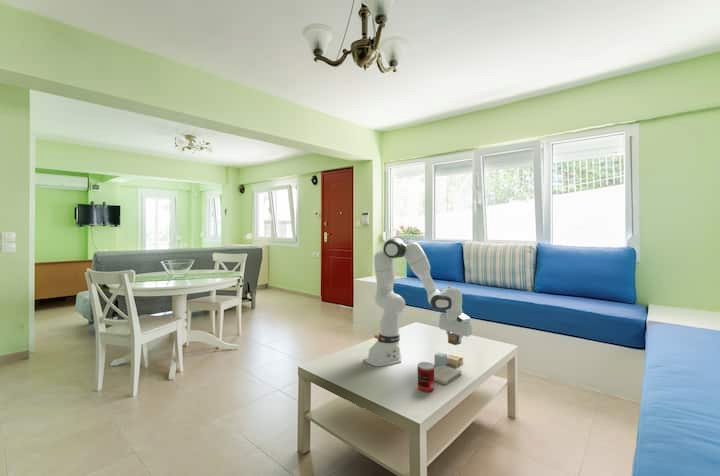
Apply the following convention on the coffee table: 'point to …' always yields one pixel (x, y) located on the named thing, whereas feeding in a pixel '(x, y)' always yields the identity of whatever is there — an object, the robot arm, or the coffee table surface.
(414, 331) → the coffee table surface
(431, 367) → the canned food
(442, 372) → the washcloth
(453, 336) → the walnut block
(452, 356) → the oak base block
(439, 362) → the grey-blue block
